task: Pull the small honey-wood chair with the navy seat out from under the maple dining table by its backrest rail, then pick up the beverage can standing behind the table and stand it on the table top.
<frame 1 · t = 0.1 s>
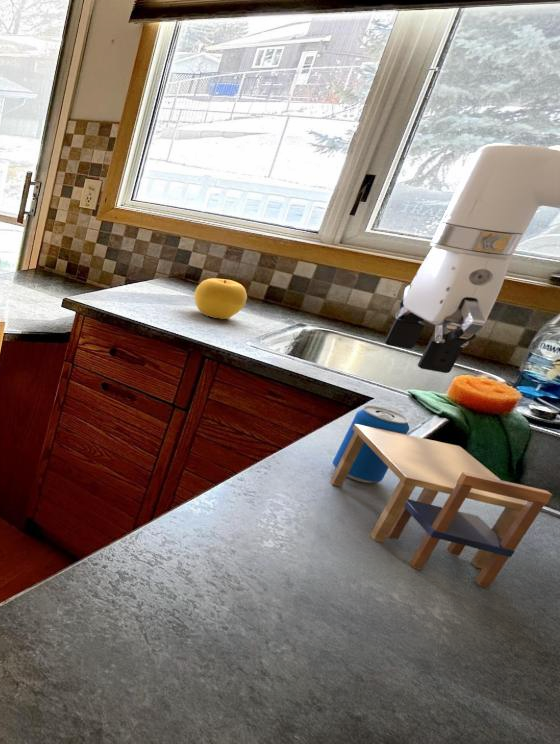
hand: (414, 357, 87), 26 cm above the countertop, tool pointing down, fingers open, 9 cm apart
dining table: (400, 521, 94), on the countertop
beverage can: (354, 475, 106), on the countertop
apple: (213, 316, 186), on the countertop
chair: (461, 515, 83), point 8 cm above the countertop, slide at 0.0 cm
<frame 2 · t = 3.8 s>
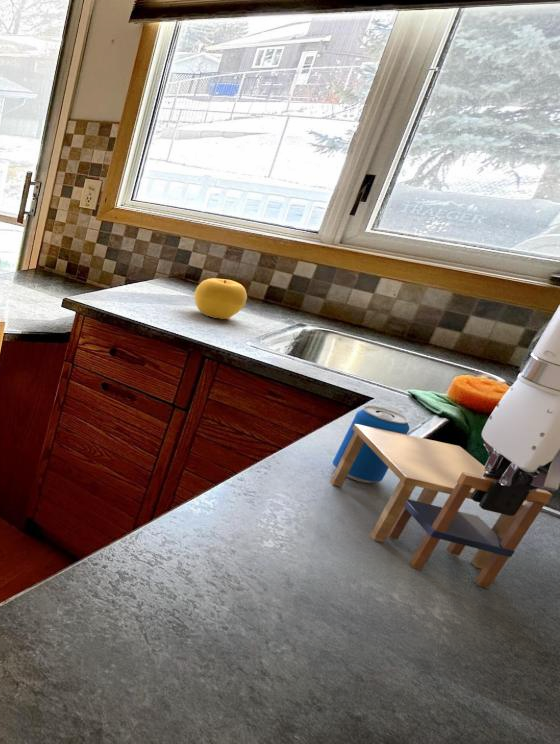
hand: (491, 506, 78), 12 cm above the countertop, tool pointing down, fingers closed
chair: (461, 515, 83), point 8 cm above the countertop, slide at 0.0 cm, touching gripper
everything else where it was.
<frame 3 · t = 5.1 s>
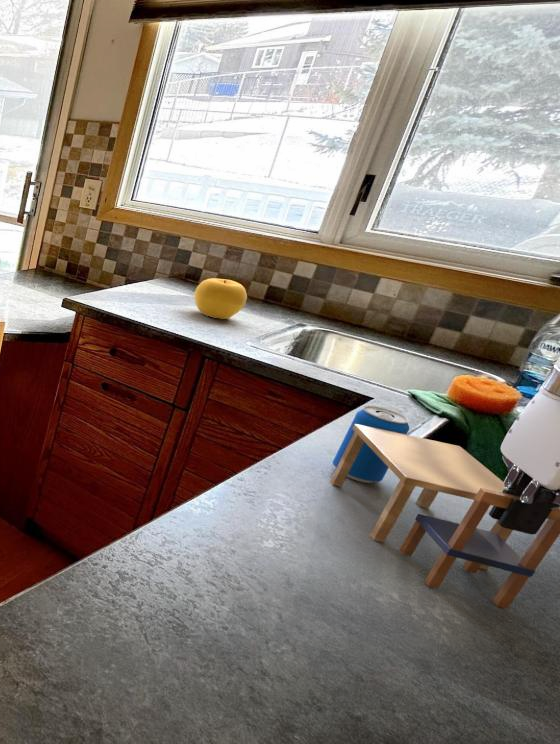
hand: (511, 524, 75), 12 cm above the countertop, tool pointing down, fingers closed
chair: (478, 532, 79), point 8 cm above the countertop, slide at 3.9 cm, touching gripper
everything else where it was.
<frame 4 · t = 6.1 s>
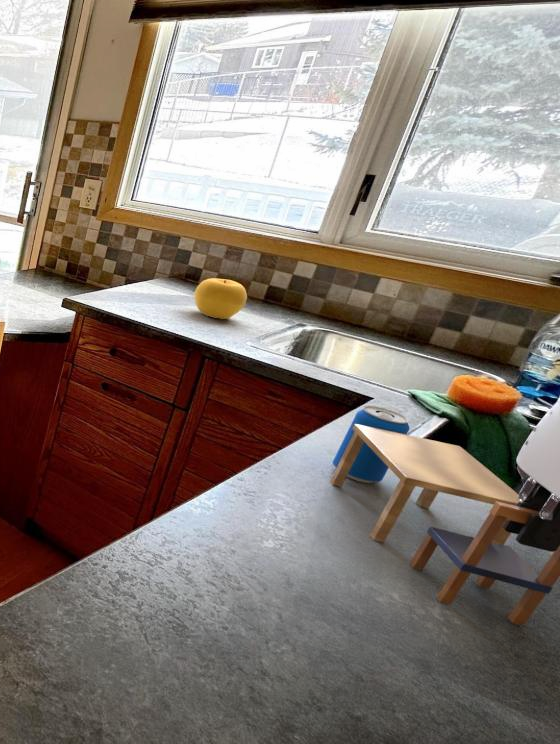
hand: (527, 539, 72), 12 cm above the countertop, tool pointing down, fingers closed
chair: (492, 547, 77), point 8 cm above the countertop, slide at 6.9 cm
everything else where it was.
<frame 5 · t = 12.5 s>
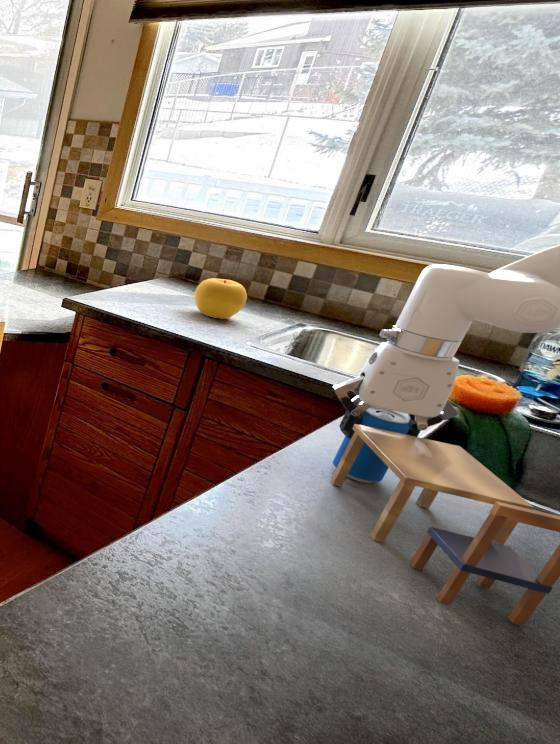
hand: (373, 439, 103), 7 cm above the countertop, tool pointing down, fingers closed on beverage can, 6 cm apart
beverage can: (354, 475, 106), on the countertop, touching gripper
everything else where it was.
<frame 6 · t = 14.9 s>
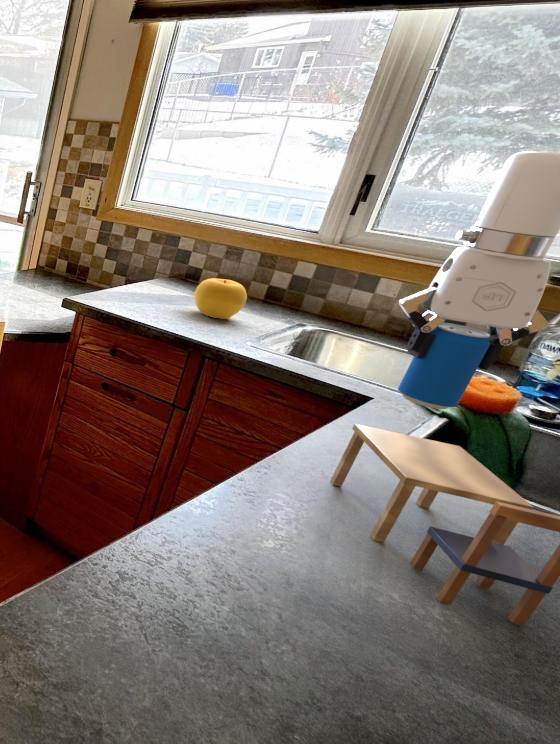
hand: (446, 359, 91), 24 cm above the countertop, tool pointing down, fingers closed on beverage can, 6 cm apart
beverage can: (423, 402, 94), point 17 cm above the countertop, touching gripper
everything else where it was.
when the fingers open (18 cm above the countertop, at t = 17.7 s): beverage can stays where it is, resting on dining table.
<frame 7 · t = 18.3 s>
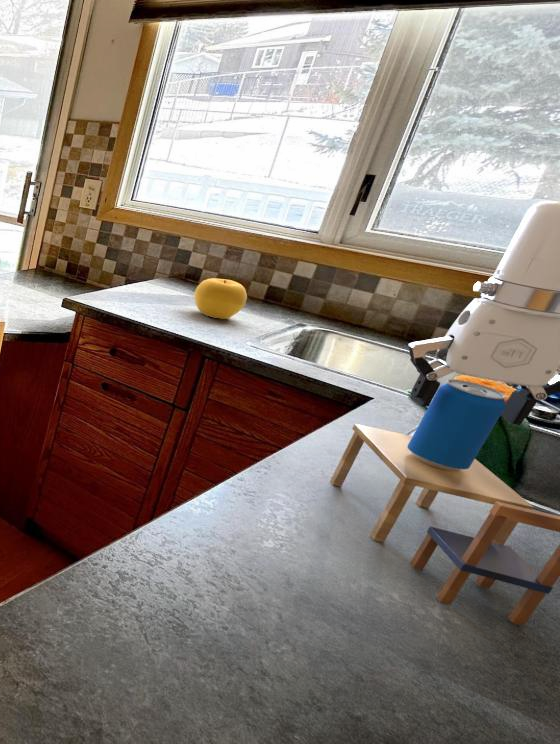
hand: (463, 411, 86), 19 cm above the countertop, tool pointing down, fingers open, 9 cm apart
beverage can: (434, 462, 90), point 11 cm above the countertop, touching dining table
everything else where it was.
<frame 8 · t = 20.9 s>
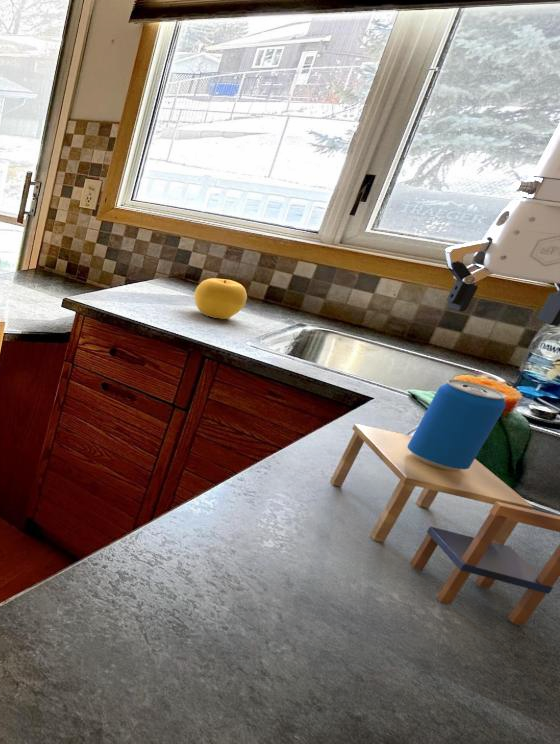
hand: (500, 315, 87), 32 cm above the countertop, tool pointing down, fingers open, 9 cm apart
nothing on the countertop moved.
at the end: chair slide at 6.9 cm; beverage can inside the target area on the dining table (0.0 cm from its centre), point 10.8 cm above the dining table's base; beverage can tilted 0° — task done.
